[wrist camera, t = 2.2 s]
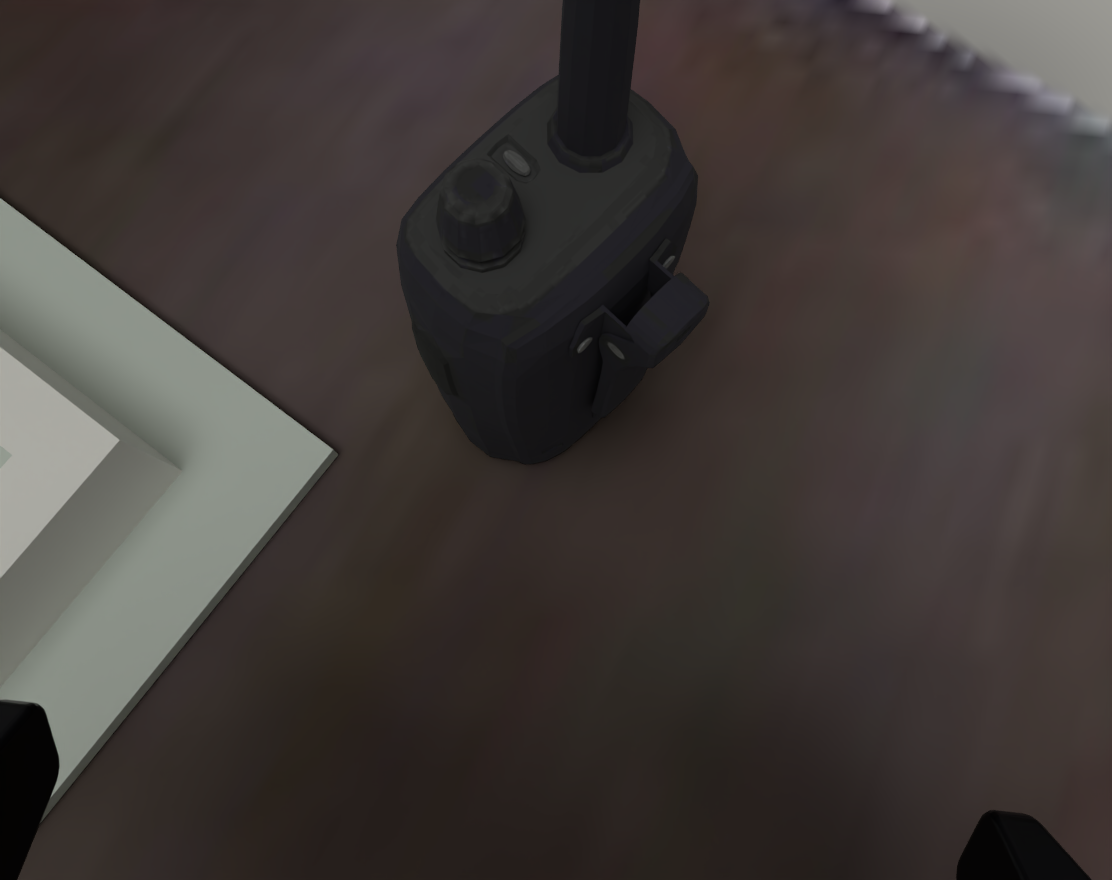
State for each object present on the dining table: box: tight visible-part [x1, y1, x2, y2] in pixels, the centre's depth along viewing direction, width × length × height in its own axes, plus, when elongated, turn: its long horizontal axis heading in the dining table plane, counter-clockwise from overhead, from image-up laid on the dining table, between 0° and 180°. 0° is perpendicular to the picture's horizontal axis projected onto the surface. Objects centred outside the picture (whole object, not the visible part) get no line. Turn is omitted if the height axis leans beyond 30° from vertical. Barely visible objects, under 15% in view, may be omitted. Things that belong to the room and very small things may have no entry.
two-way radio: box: [396, 0, 709, 464], centre depth 16 cm, size 6×4×15 cm
